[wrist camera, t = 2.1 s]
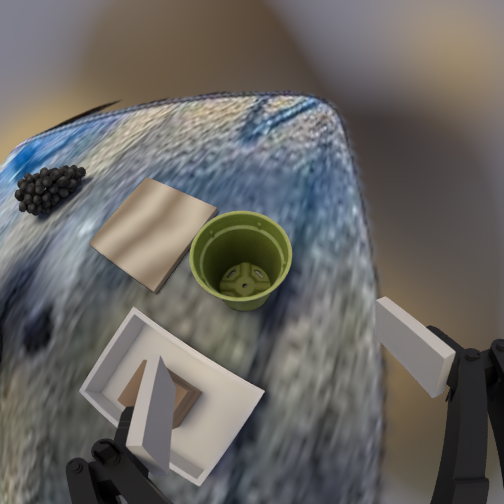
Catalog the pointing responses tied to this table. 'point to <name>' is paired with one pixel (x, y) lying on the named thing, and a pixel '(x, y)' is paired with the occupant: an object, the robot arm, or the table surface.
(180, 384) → the walnut block
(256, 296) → the plant pot
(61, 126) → the table surface
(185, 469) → the grey tray
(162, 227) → the ash board
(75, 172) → the fruit
